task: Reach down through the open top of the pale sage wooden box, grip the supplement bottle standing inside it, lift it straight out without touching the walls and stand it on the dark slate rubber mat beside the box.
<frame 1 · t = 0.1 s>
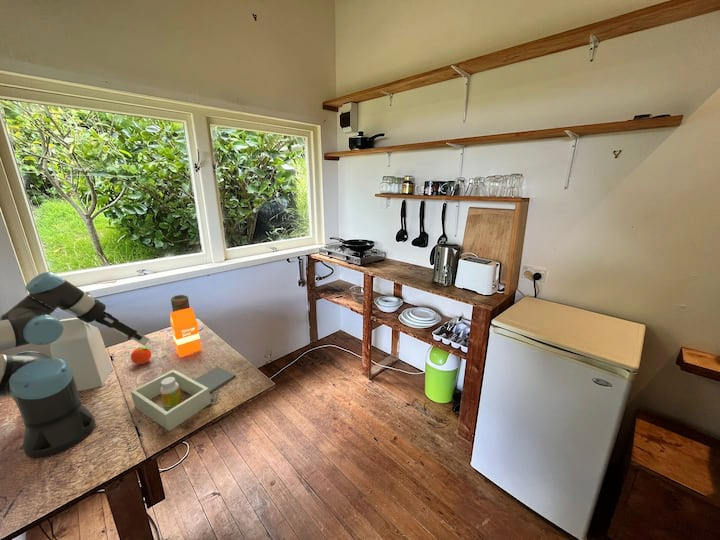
hand: (137, 337, 115), 15 cm above the table, tool tilted 35°, fingers open, 13 cm apart
clementine: (144, 362, 125), on the table
orange juice: (188, 350, 134), on the table
open box: (173, 404, 101), on the table
slate mat: (214, 379, 114), on the table
milk: (88, 381, 113), on the table
supplement bottle: (173, 405, 101), resting in open box
brown rounded bar: (185, 334, 149), on the table
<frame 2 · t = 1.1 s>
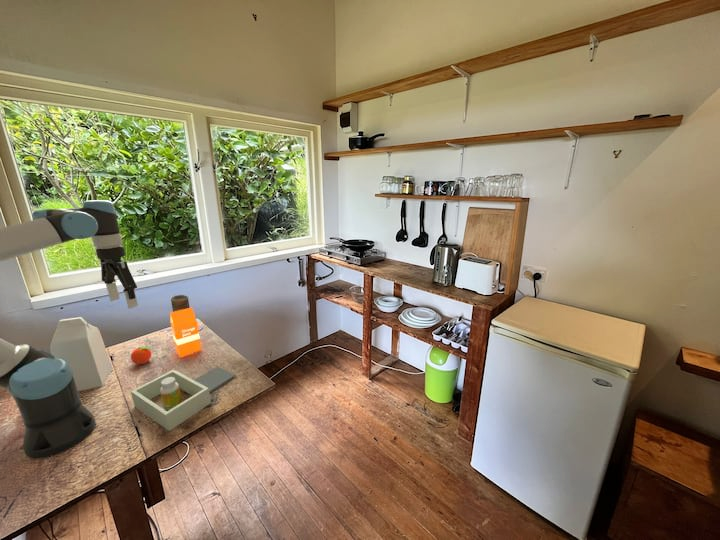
hand: (123, 303, 108), 31 cm above the table, tool pointing down, fingers open, 13 cm apart
nothing on the table moved.
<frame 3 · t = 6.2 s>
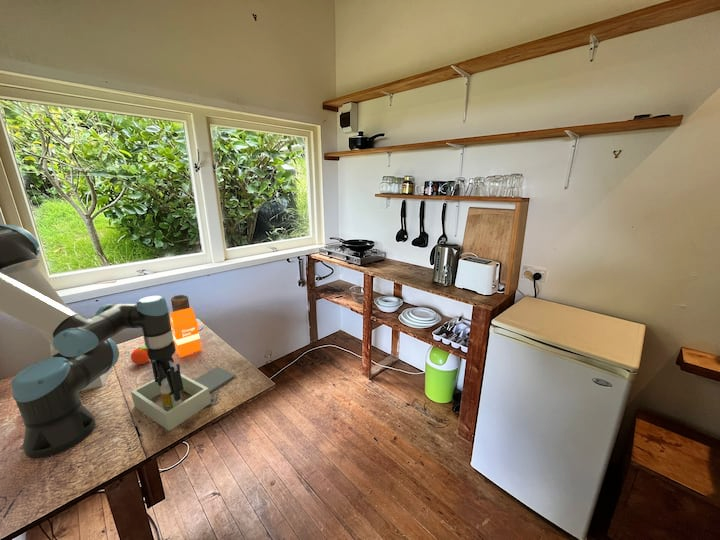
hand: (172, 403, 101), 0 cm above the table, tool pointing down, fingers closed on supplement bottle, 5 cm apart
supplement bottle: (173, 405, 101), resting in open box, touching gripper
everything else where it was.
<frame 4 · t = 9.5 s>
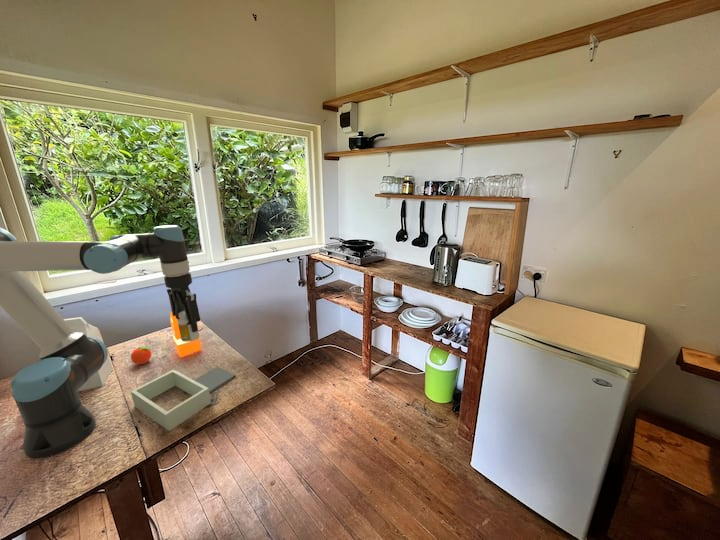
hand: (190, 337, 102), 22 cm above the table, tool pointing down, fingers closed on supplement bottle, 5 cm apart
supplement bottle: (190, 338, 103), point 21 cm above the table, touching gripper
everything else where it was.
when the fingers open (3 cm above the table, at t = 13.1 s): supplement bottle drops 1 cm, resting on slate mat.
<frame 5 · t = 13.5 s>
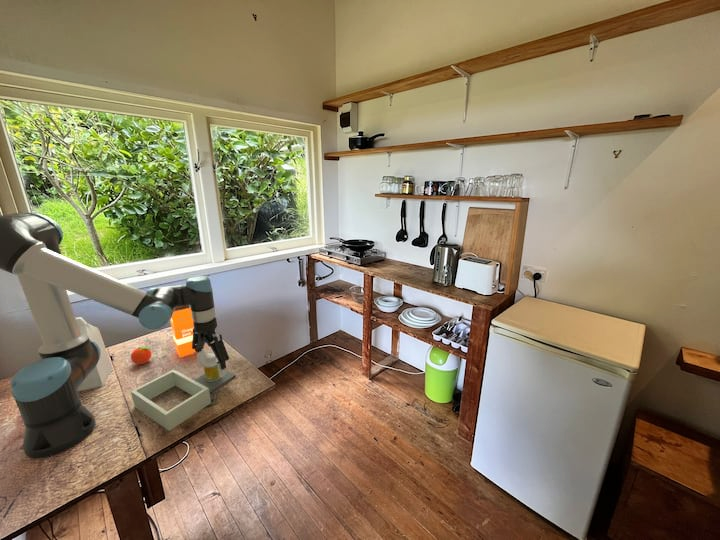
hand: (212, 370, 113), 4 cm above the table, tool pointing down, fingers open, 11 cm apart
supplement bottle: (213, 378, 114), point 1 cm above the table, touching slate mat
everything else where it was.
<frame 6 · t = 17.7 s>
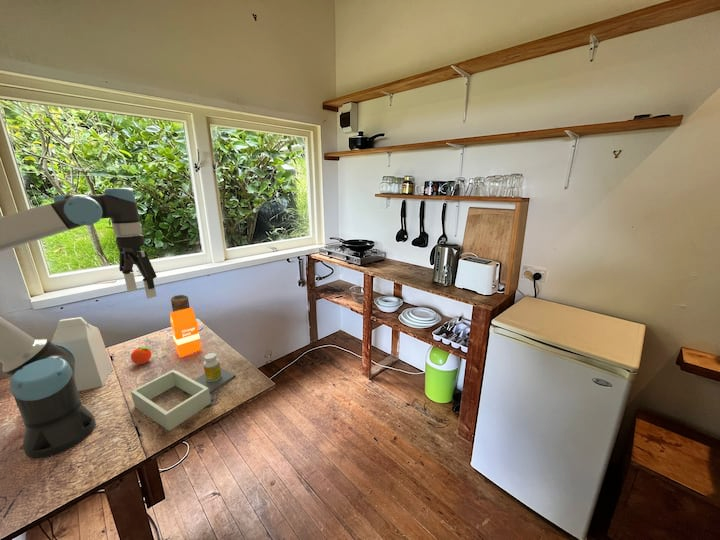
hand: (141, 293, 106), 35 cm above the table, tool pointing down, fingers open, 13 cm apart
nothing on the table moved.
at the end: supplement bottle 0.0 cm off-centre on the slate mat, point 0.6 cm above the slate mat's base; supplement bottle tilted 0°; supplement bottle touching slate mat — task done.
